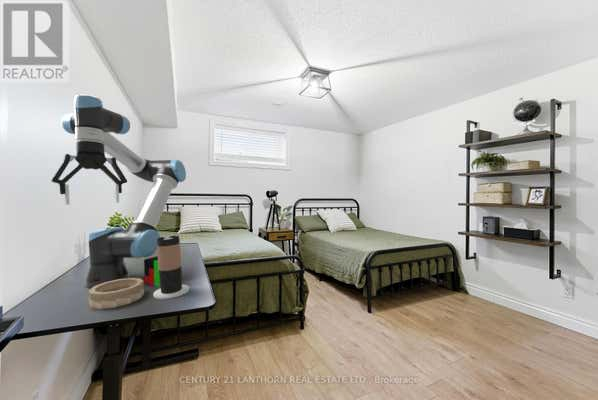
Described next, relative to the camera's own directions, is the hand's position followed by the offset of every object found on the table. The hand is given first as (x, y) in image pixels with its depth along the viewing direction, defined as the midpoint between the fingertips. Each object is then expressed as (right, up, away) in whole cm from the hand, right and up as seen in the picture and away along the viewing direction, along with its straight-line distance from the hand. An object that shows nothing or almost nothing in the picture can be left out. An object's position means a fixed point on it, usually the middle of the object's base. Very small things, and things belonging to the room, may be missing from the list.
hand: (93, 203), depth 88 cm
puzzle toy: (+13, -34, +21) cm, 42 cm away
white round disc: (+24, -34, +7) cm, 42 cm away
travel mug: (+24, -33, +7) cm, 41 cm away
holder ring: (+7, -34, +2) cm, 35 cm away
